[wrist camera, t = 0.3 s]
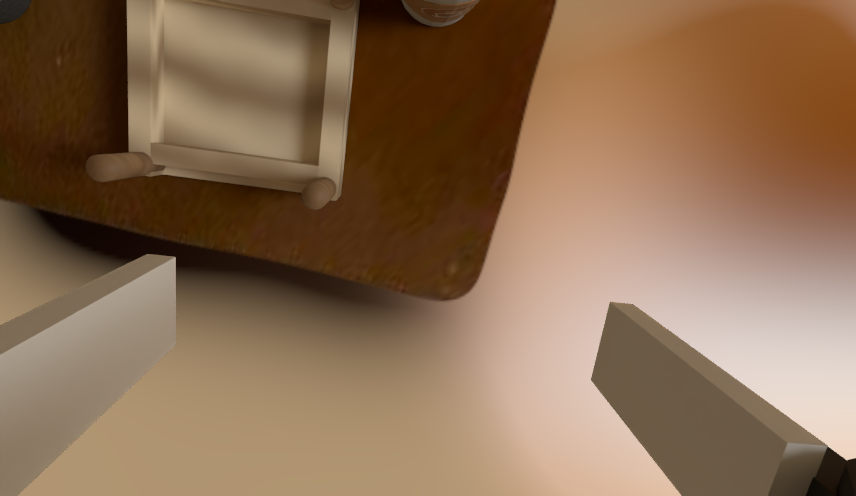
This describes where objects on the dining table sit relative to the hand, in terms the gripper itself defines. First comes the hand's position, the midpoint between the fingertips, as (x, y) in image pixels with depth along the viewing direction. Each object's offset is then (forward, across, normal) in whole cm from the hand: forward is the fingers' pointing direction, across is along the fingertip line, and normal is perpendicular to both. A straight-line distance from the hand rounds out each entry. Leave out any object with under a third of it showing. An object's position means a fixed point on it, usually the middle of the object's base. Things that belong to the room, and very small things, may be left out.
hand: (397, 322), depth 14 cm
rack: (+28, -13, +8) cm, 31 cm away
